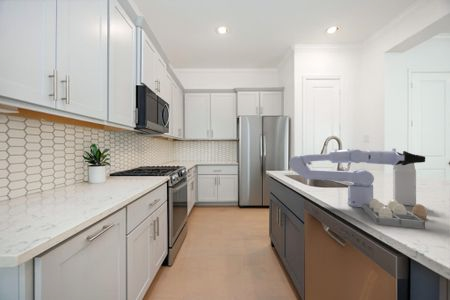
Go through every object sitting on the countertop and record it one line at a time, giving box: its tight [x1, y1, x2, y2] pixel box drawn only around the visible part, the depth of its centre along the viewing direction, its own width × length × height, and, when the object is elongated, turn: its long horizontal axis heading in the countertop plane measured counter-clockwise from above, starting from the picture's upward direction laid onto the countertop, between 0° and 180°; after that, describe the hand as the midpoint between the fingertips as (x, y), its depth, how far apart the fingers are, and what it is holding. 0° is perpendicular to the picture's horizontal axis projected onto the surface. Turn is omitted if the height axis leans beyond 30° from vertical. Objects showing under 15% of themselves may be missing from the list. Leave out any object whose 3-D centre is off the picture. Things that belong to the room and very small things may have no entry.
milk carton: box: [392, 163, 417, 207], centre depth 98 cm, size 7×7×19 cm
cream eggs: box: [369, 198, 408, 218], centre depth 79 cm, size 10×16×5 cm, turn 159°
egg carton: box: [362, 204, 426, 229], centre depth 79 cm, size 13×19×2 cm
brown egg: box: [411, 203, 428, 220], centre depth 79 cm, size 4×4×5 cm
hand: (420, 159), depth 87 cm, fingers open, 7 cm apart
